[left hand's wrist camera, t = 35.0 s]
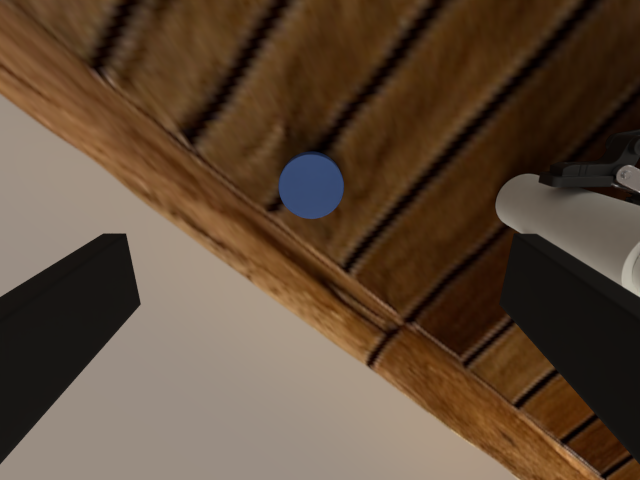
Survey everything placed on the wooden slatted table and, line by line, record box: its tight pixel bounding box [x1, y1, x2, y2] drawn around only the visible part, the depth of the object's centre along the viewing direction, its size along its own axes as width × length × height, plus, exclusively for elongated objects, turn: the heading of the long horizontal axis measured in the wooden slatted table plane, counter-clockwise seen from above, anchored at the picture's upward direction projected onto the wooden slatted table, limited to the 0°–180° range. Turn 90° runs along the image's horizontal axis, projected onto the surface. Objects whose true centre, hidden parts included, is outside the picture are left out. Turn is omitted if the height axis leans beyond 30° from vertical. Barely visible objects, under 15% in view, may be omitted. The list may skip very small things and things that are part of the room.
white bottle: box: [496, 174, 640, 297], centre depth 24 cm, size 5×5×16 cm
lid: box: [279, 152, 344, 219], centre depth 30 cm, size 5×5×2 cm
